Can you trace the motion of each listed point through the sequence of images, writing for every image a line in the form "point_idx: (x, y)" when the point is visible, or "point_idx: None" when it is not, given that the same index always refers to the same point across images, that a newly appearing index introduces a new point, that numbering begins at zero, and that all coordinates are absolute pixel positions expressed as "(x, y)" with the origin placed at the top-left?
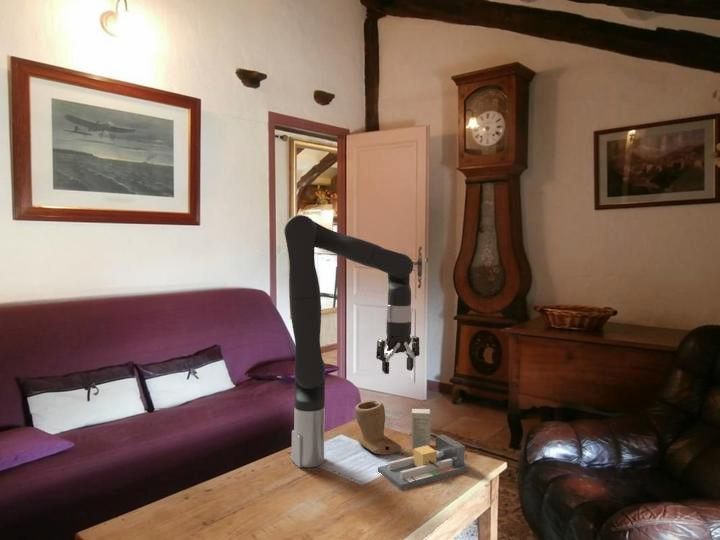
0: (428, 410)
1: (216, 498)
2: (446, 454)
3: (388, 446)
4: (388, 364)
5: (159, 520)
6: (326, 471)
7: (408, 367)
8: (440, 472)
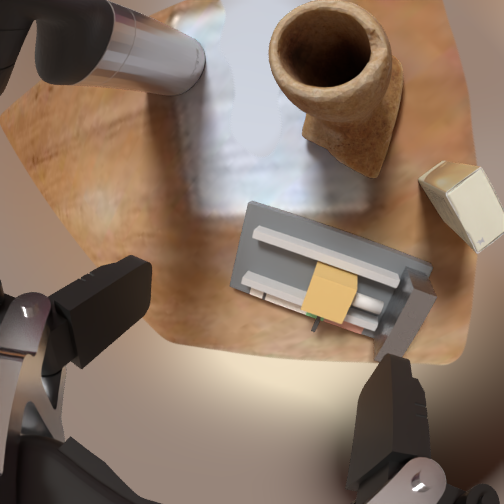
0: (497, 232)
1: (48, 114)
2: (389, 311)
3: (338, 158)
4: (89, 352)
5: (18, 129)
6: (174, 124)
7: (372, 390)
8: (328, 320)
